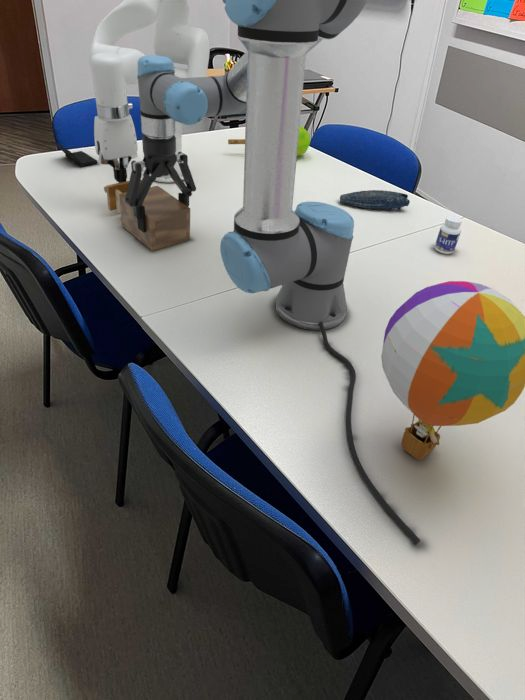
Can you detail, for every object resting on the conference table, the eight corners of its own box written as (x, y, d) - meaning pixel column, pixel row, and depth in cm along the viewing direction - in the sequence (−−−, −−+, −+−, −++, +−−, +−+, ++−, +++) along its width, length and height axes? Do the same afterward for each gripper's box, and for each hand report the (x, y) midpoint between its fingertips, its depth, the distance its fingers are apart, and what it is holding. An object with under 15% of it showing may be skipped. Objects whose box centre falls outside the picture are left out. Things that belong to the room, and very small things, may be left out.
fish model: (408, 214, 157) (412, 198, 153) (339, 207, 158) (341, 191, 154) (406, 206, 162) (410, 190, 159) (339, 199, 163) (341, 183, 160)
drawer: (99, 201, 143) (96, 177, 139) (131, 194, 149) (129, 171, 144) (134, 230, 133) (132, 206, 129) (167, 221, 138) (167, 197, 134)
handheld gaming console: (102, 156, 171) (80, 134, 163) (90, 174, 170) (68, 153, 161) (81, 152, 177) (60, 131, 169) (70, 169, 176) (48, 148, 168)
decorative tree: (225, 119, 187) (305, 119, 192) (225, 149, 194) (302, 148, 199) (232, 134, 173) (318, 133, 179) (232, 165, 180) (315, 164, 185)
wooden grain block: (121, 225, 136) (118, 193, 131) (158, 216, 142) (157, 185, 137) (152, 251, 128) (150, 218, 122) (190, 240, 134) (190, 208, 128)
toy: (330, 441, 84) (367, 281, 65) (404, 391, 94) (454, 241, 75) (431, 526, 73) (512, 363, 54) (502, 459, 83) (589, 303, 64)
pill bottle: (433, 251, 139) (442, 220, 133) (435, 243, 143) (444, 213, 137) (453, 256, 138) (464, 225, 132) (454, 247, 142) (465, 217, 136)
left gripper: (132, 102, 135) (138, 171, 147) (77, 110, 127) (89, 183, 139) (147, 110, 131) (152, 180, 143) (91, 119, 123) (102, 193, 135)
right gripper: (192, 123, 125) (193, 208, 139) (102, 137, 112) (113, 230, 126) (211, 132, 121) (210, 219, 135) (119, 147, 108) (128, 242, 122)
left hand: (121, 181), depth 141 cm, fingers closed
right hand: (163, 224), depth 130 cm, fingers closed on wooden grain block, 11 cm apart
